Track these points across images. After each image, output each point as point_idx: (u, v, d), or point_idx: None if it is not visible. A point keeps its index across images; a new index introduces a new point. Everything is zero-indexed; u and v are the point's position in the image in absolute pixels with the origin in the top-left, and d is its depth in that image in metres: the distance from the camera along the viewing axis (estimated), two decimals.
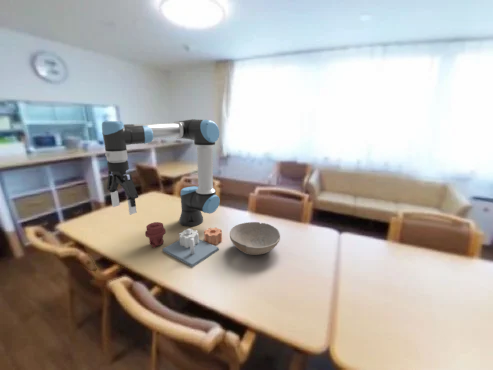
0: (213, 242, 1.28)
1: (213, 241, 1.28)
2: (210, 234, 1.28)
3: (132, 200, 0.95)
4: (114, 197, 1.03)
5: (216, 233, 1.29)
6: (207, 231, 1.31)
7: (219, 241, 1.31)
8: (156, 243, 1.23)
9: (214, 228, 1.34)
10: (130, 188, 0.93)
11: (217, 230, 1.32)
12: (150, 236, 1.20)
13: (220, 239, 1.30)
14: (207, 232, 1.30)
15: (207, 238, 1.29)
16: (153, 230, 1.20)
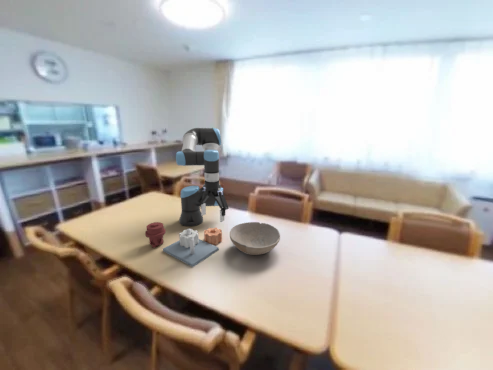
0: (213, 242, 1.28)
1: (213, 241, 1.28)
2: (210, 234, 1.28)
3: (223, 211, 1.22)
4: (203, 208, 1.30)
5: (216, 233, 1.29)
6: (207, 231, 1.31)
7: (219, 241, 1.31)
8: (156, 243, 1.23)
9: (214, 228, 1.34)
10: (223, 202, 1.20)
11: (217, 230, 1.32)
12: (150, 236, 1.20)
13: (220, 239, 1.30)
14: (207, 232, 1.30)
15: (207, 238, 1.29)
16: (153, 230, 1.20)
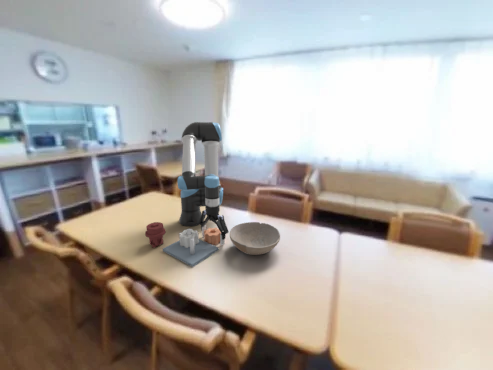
0: (213, 242, 1.28)
1: (213, 241, 1.28)
2: (210, 234, 1.28)
3: (224, 234, 1.26)
4: (204, 230, 1.34)
5: (216, 233, 1.29)
6: (207, 231, 1.31)
7: (219, 241, 1.31)
8: (156, 243, 1.23)
9: (214, 228, 1.34)
10: (223, 226, 1.24)
11: (217, 230, 1.32)
12: (150, 236, 1.20)
13: None
14: (207, 232, 1.30)
15: (207, 238, 1.29)
16: (153, 230, 1.20)
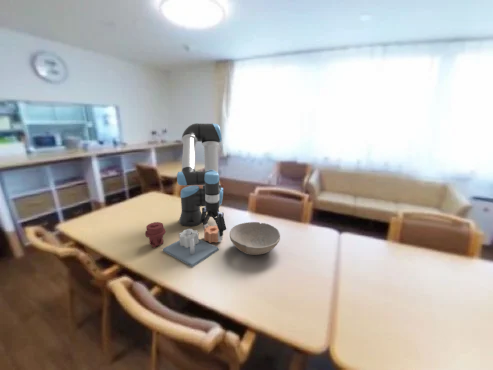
0: (213, 240, 1.29)
1: (213, 239, 1.29)
2: (210, 232, 1.28)
3: (221, 231, 1.27)
4: None
5: (216, 231, 1.29)
6: (207, 229, 1.31)
7: None
8: (156, 243, 1.23)
9: (214, 226, 1.35)
10: (222, 223, 1.24)
11: (217, 228, 1.32)
12: (150, 236, 1.20)
13: None
14: (207, 230, 1.30)
15: (207, 236, 1.29)
16: (153, 230, 1.20)
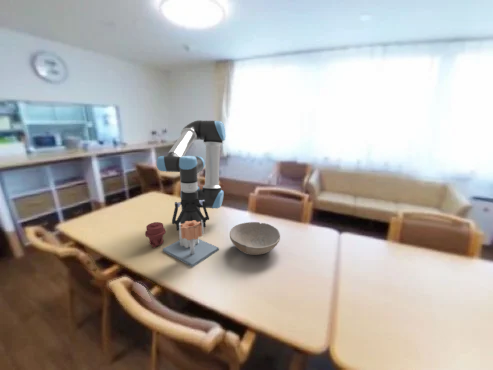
0: (198, 235, 1.12)
1: (198, 233, 1.12)
2: (194, 227, 1.10)
3: None
4: (180, 228, 1.11)
5: (197, 224, 1.13)
6: (186, 226, 1.10)
7: None
8: (156, 243, 1.23)
9: (186, 222, 1.15)
10: None
11: (193, 222, 1.15)
12: (150, 236, 1.20)
13: None
14: (187, 227, 1.09)
15: (191, 233, 1.09)
16: (153, 230, 1.20)
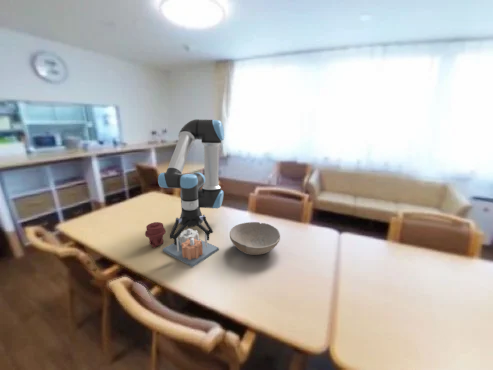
0: (198, 254, 1.15)
1: (198, 252, 1.15)
2: (195, 246, 1.13)
3: (208, 234, 1.16)
4: None
5: (198, 243, 1.16)
6: (187, 246, 1.13)
7: None
8: (156, 243, 1.23)
9: (187, 241, 1.18)
10: (209, 225, 1.15)
11: None
12: (150, 236, 1.20)
13: None
14: (189, 247, 1.12)
15: (192, 253, 1.12)
16: (153, 230, 1.20)
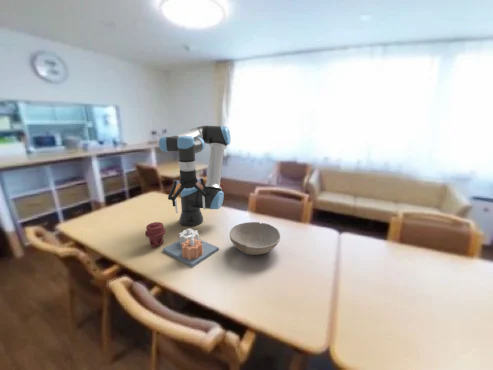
0: (198, 254, 1.15)
1: (198, 252, 1.15)
2: (195, 246, 1.13)
3: (206, 197, 1.20)
4: (176, 204, 1.15)
5: (198, 243, 1.16)
6: (187, 246, 1.13)
7: None
8: (156, 243, 1.23)
9: (187, 241, 1.18)
10: (206, 187, 1.18)
11: None
12: (150, 236, 1.20)
13: None
14: (189, 247, 1.12)
15: (192, 253, 1.12)
16: (153, 230, 1.20)
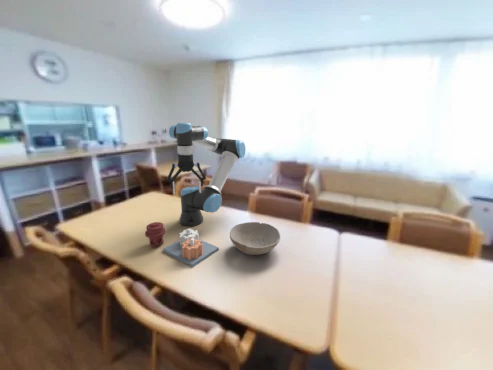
0: (198, 254, 1.15)
1: (198, 252, 1.15)
2: (195, 246, 1.13)
3: (202, 181, 1.28)
4: (174, 186, 1.24)
5: (198, 243, 1.16)
6: (187, 246, 1.13)
7: None
8: (156, 243, 1.23)
9: (187, 241, 1.18)
10: (202, 172, 1.26)
11: None
12: (150, 236, 1.20)
13: None
14: (189, 247, 1.12)
15: (192, 253, 1.12)
16: (153, 230, 1.20)
